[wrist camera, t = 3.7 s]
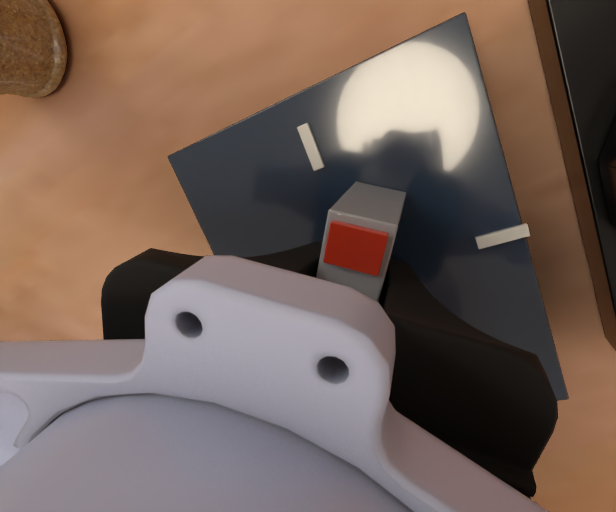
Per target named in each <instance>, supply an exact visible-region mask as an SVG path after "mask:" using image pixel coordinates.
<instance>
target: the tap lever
mask: <svg viewBox="0 0 616 512" xmlns="http://www.w3.org/2000/svg"><path fill="white" fill-rule="evenodd" d="M406 195H407V194H406V192H402V191H398V190H393V189H388V188H384V187H379V186H374V185H370V184H365V183H361V182H355V183H354V184H353V185H352V186H351V187H350V188H349V189H348V190H347V191H346V192H345V193H344V194H343V195H342V196H341V197H340V199H339V200H338V201H337V202H336V203H335V204H334V205H333V206H332V207H331V208H330V209H329V210H328V214H327V220H326V225H325V231H324V236H323V241H322V247H321V252H320V258H319V263H318V269H317V274H316V278H318V279H322V280H325V281H329V282H333V283H337V284H340V285H344V286H348V287H351V288H353V289H355V290H357V291H359V292H360V293H362V294H364V295H366V296H368V297H370V298H372V299H373V300H375V301H377V302H379V299H380V295H381V291H382V287H383V283H384V279H385V276H386V272H387V268H388V264H389V260H390V257H391V253H392V249H393V245H394V241H395V238H396V234H397V230H398V226H399V222H400V218H401V214H402V210H403V206H404V202H405V199H406Z"/></svg>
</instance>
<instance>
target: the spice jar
mask: <svg viewBox="0 0 616 512" xmlns="http://www.w3.org/2000/svg"><path fill="white" fill-rule="evenodd" d="M66 62H67V46H66V42H65V37H64V34H63V30H62V27H61V24H60V22H59V19H58V17H57V15H56V13H55V11H54V9H53V8H52V6H51V5H50V3H49V2H48V1H47V0H0V95H3V94H14V95H20V96H24V97H32V98H38V97H43V96H46V95H48V94H50V93H51V92H52V91H54V90H56V88H57V87H58V85H59V84H60V82H61V79H62V76H63V74H64V73H65V66H66Z"/></svg>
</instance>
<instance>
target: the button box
mask: <svg viewBox="0 0 616 512" xmlns="http://www.w3.org/2000/svg"><path fill="white" fill-rule="evenodd" d="M528 3H529V7H530V12H531V16H532V20H533V25H534V29H535V33H536V38H537V42H538V46H539V51H540V55H541V59H542V64H543V68H544V72H545V77H546V81H547V85H548V90H549V94H550V98H551V103H552V107H553V111H554V116H555V120H556V124H557V129H558V133H559V137H560V142H561V146H562V150H563V155H564V159H565V163H566V168H567V172H568V176H569V181H570V185H571V189H572V194H573V198H574V202H575V207H576V211H577V215H578V220H579V224H580V228H581V233H582V237H583V241H584V246H585V250H586V254H587V259H588V263H589V267H590V272H591V276H592V280H593V285H594V289H595V293H596V298H597V302H598V306H599V311H600V315H601V319H602V324H603V328H604V332H605V337H606V339H607V340H608V341H609V343H610V344H611V345H612V347H613V348H614V349H615V351H616V0H528Z"/></svg>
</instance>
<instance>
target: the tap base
mask: <svg viewBox="0 0 616 512" xmlns="http://www.w3.org/2000/svg"><path fill="white" fill-rule="evenodd" d="M168 159H169V161H170V163H171V165H172V167H173V170H174V172H175V174H176V176H177V178H178V180H179V182H180V184H181V186H182V188H183V191H184V193H185V195H186V197H187V199H188V201H189V203H190V205H191V207H192V209H193V212H194V214H195V216H196V218H197V220H198V222H199V224H200V226H201V228H202V230H203V233H204V235H205V237H206V239H207V241H208V243H209V245H210V247H211V249H212V251H213V254H214V255H232V256H236V257H252V256H261V255H267V254H272V253H277V252H281V251H285V250H289V249H293V248H297V247H300V246H303V245H307V244H310V243H314V242H318V241H323V236H324V231H325V225H326V220H327V214H328V210H329V209H330V208H331V207H332V206H333V205H334V204H335V203H336V202H337V201H338V200H339V199H340V197H341V196H342V195H343V194H344V193H345V192H346V191H347V190H348V189H349V188H350V187H351V186H352V185H353V184H354V183H355V182H361V183H365V184H370V185H374V186H379V187H384V188H388V189H393V190H398V191H402V192H406V194H407V195H406V199H405V202H404V206H403V210H402V214H401V218H400V222H399V226H398V230H397V234H396V238H395V241H394V245H393V249H392V253H391V257H390V258H393V259H397V260H401V261H405V262H408V263H409V264H410V266H411V267H412V269H413V270H414V272H415V274H416V275H417V276H418V278H419V279H420V281H421V282H422V283H423V284H424V286H425V287H426V288H427V289H428V290H429V292H430V293H431V294H432V295H433V296H434V297H435V298H436V299H437V300H438V301H439V302H440V303H441V304H442V305H444V306H445V307H446V308H447V309H448V310H449V311H451V312H452V313H453V314H455V315H456V316H457V317H459V318H460V319H462V320H463V321H465V322H466V323H468V324H470V325H471V326H473V327H475V328H476V329H478V330H480V331H482V332H484V333H486V334H488V335H490V336H492V337H494V338H496V339H498V340H500V341H502V342H505V343H507V344H510V345H512V346H515V347H518V348H520V349H523V350H526V351H528V352H531V353H534V354H536V355H537V356H538V358H539V360H540V362H541V364H542V366H543V368H544V370H545V372H546V374H547V376H548V379H549V381H550V384H551V387H552V390H553V392H554V394H555V397H556V399H557V401H559V400H567V399H569V396H568V393H567V389H566V385H565V382H564V378H563V374H562V370H561V367H560V363H559V359H558V355H557V352H556V348H555V344H554V340H553V337H552V333H551V329H550V325H549V322H548V318H547V314H546V311H545V307H544V303H543V299H542V296H541V292H540V288H539V284H538V281H537V277H536V273H535V269H534V266H533V262H532V258H531V255H530V251H529V247H528V243H527V240H526V237H528V236H530V232H529V228H528V225H527V223H525V224H522V221H521V217H520V213H519V210H518V206H517V202H516V198H515V195H514V191H513V187H512V184H511V180H510V176H509V172H508V169H507V165H506V161H505V157H504V154H503V150H502V146H501V142H500V139H499V135H498V131H497V127H496V124H495V120H494V116H493V113H492V109H491V105H490V101H489V98H488V94H487V90H486V86H485V83H484V79H483V75H482V71H481V68H480V64H479V60H478V56H477V53H476V49H475V45H474V42H473V38H472V34H471V30H470V27H469V23H468V19H467V15H466V13H465V12H463V13H461V14H459V15H457V16H455V17H453V18H451V19H449V20H447V21H445V22H442V23H440V24H438V25H436V26H434V27H432V28H430V29H428V30H426V31H424V32H422V33H420V34H418V35H416V36H414V37H412V38H410V39H407V40H405V41H403V42H401V43H399V44H397V45H395V46H393V47H391V48H389V49H387V50H385V51H383V52H381V53H379V54H377V55H375V56H372V57H370V58H368V59H366V60H364V61H362V62H360V63H358V64H356V65H354V66H352V67H350V68H348V69H346V70H344V71H342V72H340V73H338V74H335V75H333V76H331V77H329V78H327V79H325V80H323V81H321V82H319V83H317V84H315V85H313V86H311V87H309V88H307V89H305V90H303V91H300V92H298V93H296V94H294V95H292V96H290V97H288V98H286V99H284V100H282V101H280V102H278V103H276V104H274V105H272V106H270V107H268V108H266V109H263V110H261V111H259V112H257V113H255V114H253V115H251V116H249V117H247V118H245V119H243V120H241V121H239V122H237V123H235V124H233V125H231V126H228V127H226V128H224V129H222V130H220V131H218V132H216V133H214V134H212V135H210V136H208V137H206V138H204V139H202V140H200V141H198V142H196V143H193V144H191V145H189V146H187V147H185V148H183V149H181V150H179V151H177V152H175V153H173V154H171V155H169V156H168Z"/></svg>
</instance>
